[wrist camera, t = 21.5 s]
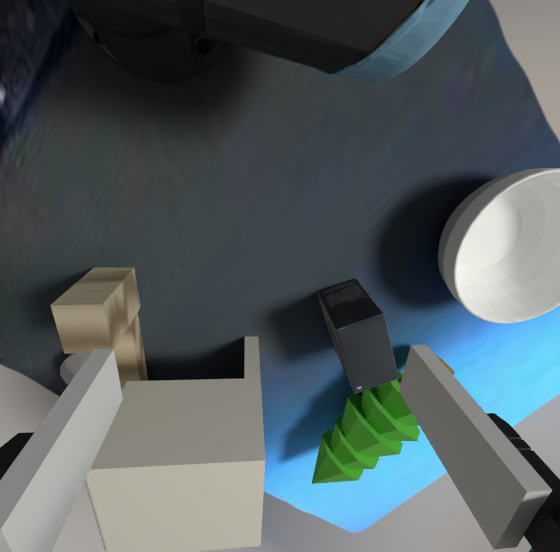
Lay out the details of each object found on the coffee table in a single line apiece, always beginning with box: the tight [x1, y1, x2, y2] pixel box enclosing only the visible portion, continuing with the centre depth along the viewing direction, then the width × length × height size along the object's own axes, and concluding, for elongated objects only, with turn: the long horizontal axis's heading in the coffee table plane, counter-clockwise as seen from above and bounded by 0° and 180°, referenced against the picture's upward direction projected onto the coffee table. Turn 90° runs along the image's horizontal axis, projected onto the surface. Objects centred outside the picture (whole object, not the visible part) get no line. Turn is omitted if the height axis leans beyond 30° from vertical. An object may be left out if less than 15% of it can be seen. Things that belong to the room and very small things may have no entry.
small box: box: [317, 279, 399, 393], centre depth 43 cm, size 11×6×10 cm, turn 18°
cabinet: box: [85, 337, 265, 552], centre depth 40 cm, size 14×18×20 cm
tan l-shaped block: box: [51, 268, 149, 387], centre depth 41 cm, size 21×5×10 cm, turn 178°
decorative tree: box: [312, 354, 454, 484], centre depth 50 cm, size 11×12×30 cm
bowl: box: [438, 168, 560, 323], centre depth 40 cm, size 19×19×9 cm
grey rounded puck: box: [60, 353, 91, 385], centre depth 45 cm, size 6×6×3 cm
